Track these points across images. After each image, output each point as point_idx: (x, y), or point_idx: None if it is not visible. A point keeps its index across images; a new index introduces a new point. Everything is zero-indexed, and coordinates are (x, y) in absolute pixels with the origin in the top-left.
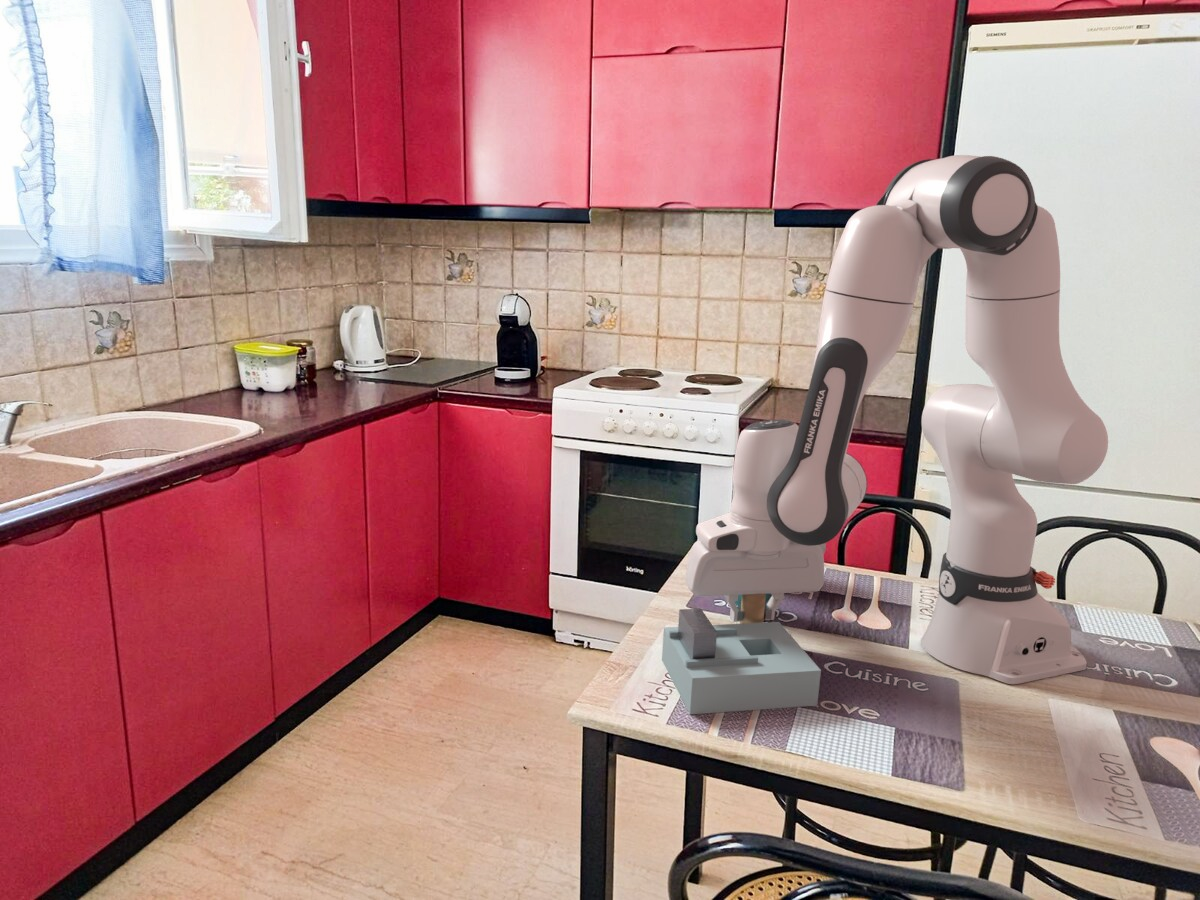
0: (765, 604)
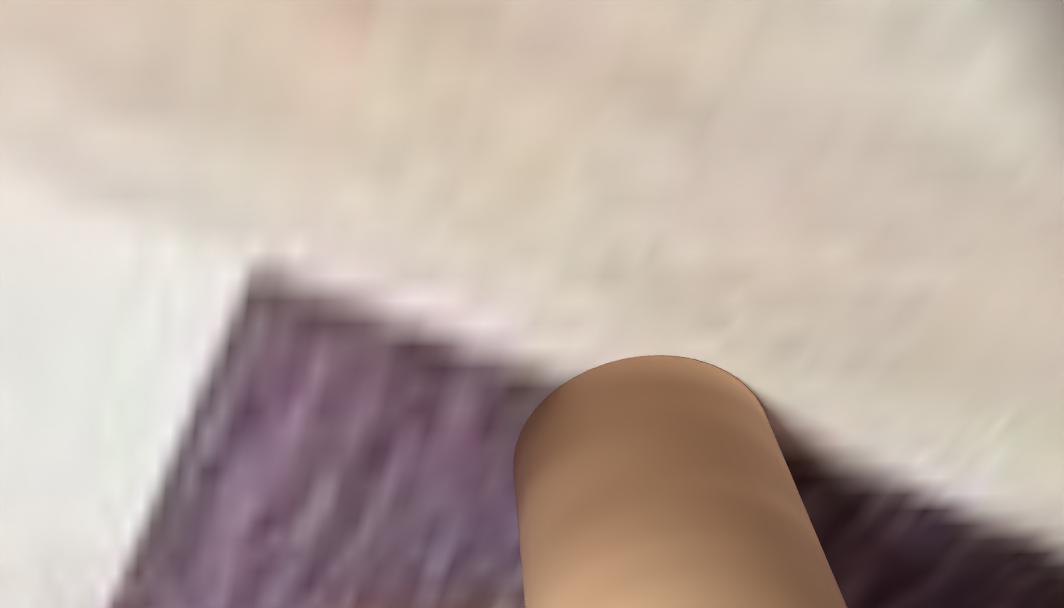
0: None
